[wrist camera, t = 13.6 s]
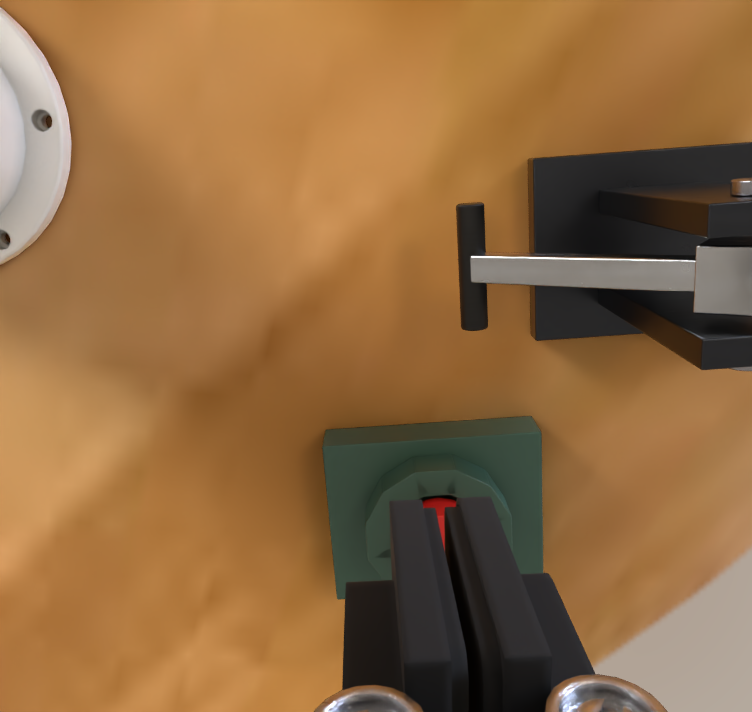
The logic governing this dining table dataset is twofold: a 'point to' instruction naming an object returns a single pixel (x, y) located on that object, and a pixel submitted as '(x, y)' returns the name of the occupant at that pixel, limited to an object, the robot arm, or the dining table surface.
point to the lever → (603, 271)
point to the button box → (430, 485)
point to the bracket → (641, 242)
